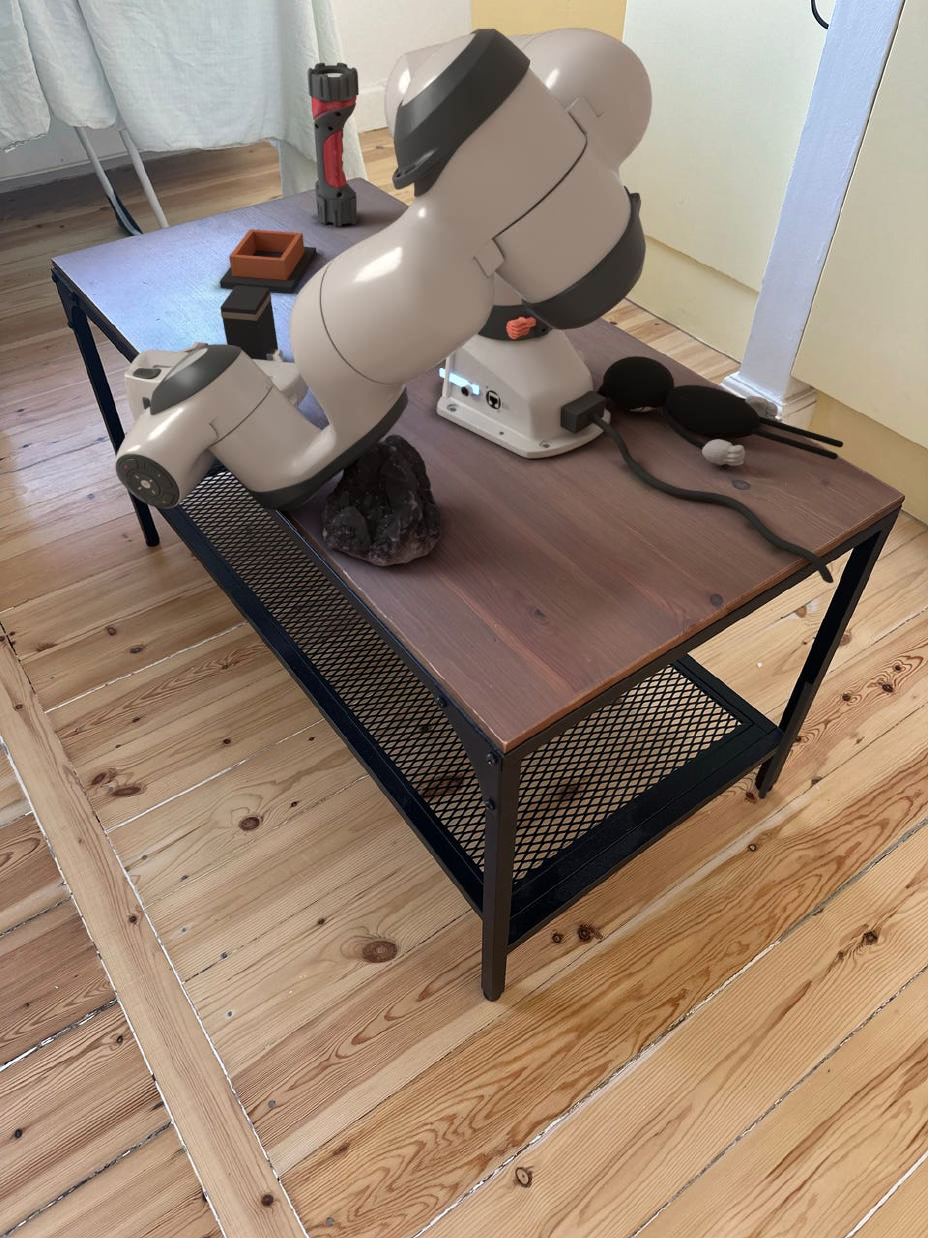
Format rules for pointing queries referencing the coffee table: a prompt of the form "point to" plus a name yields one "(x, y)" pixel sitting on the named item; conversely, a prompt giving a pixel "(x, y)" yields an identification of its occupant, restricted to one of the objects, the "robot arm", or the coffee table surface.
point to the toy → (700, 410)
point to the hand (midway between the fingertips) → (240, 351)
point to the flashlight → (333, 139)
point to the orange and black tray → (269, 261)
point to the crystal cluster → (383, 506)
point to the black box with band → (250, 321)
